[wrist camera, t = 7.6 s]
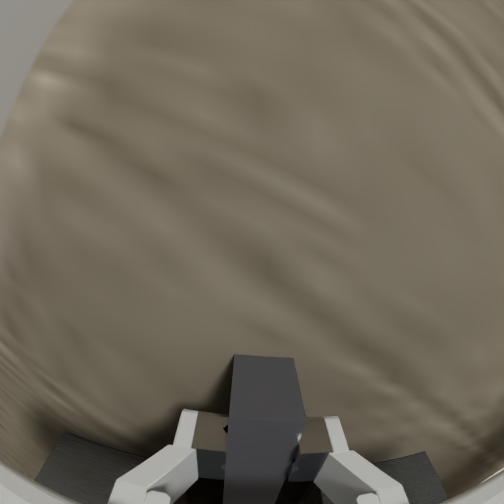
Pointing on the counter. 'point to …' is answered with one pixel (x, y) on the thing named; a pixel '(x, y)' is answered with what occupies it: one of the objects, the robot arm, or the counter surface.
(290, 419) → the plug
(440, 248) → the counter surface
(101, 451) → the grey block
